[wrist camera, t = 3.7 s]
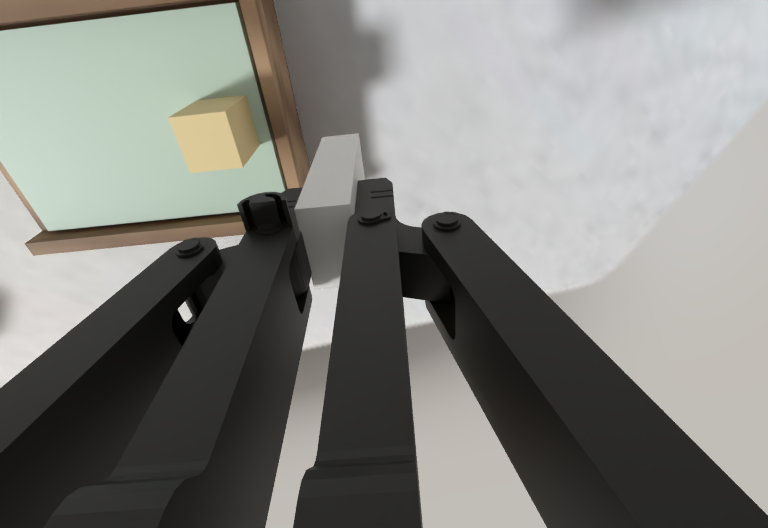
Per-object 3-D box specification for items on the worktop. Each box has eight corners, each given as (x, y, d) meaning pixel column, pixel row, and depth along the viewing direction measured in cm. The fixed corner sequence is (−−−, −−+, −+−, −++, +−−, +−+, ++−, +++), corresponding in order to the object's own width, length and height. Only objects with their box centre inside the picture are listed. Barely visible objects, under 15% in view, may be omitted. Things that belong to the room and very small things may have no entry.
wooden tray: (-58, 12, 23) (-145, 15, 20) (266, -28, 23) (244, -32, 19) (75, 223, 32) (33, 255, 28) (315, 198, 31) (307, 228, 27)
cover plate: (-69, 39, 22) (-167, 49, 18) (239, 2, 21) (209, 3, 17) (55, 225, 29) (5, 262, 25) (291, 201, 28) (277, 235, 24)
